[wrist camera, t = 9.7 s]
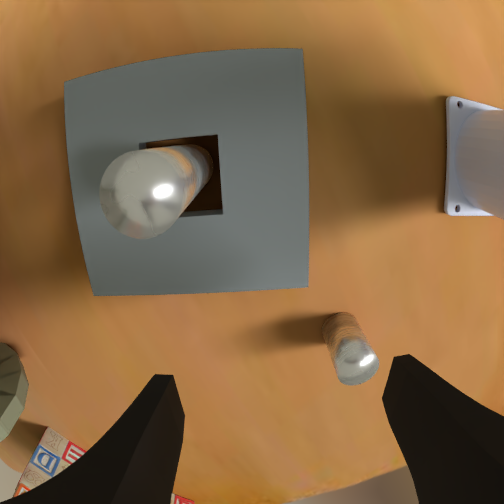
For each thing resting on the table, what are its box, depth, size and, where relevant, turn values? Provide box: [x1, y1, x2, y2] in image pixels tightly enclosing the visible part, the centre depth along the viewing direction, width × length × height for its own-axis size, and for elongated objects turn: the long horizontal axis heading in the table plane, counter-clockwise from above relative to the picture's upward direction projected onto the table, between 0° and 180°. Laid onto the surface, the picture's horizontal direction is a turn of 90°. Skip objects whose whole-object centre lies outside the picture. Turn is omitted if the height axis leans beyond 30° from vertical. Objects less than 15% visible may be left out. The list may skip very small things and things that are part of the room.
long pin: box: [99, 144, 213, 239], centre depth 13 cm, size 3×3×9 cm
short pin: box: [322, 312, 379, 385], centre depth 19 cm, size 3×3×4 cm
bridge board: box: [64, 48, 309, 296], centre depth 16 cm, size 12×12×3 cm
